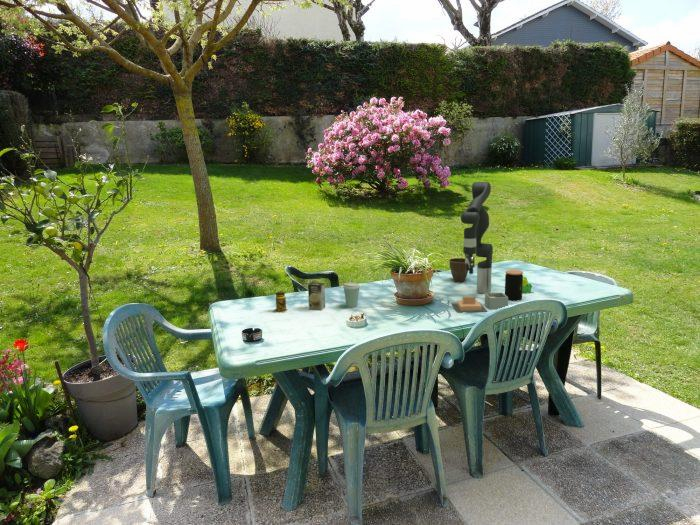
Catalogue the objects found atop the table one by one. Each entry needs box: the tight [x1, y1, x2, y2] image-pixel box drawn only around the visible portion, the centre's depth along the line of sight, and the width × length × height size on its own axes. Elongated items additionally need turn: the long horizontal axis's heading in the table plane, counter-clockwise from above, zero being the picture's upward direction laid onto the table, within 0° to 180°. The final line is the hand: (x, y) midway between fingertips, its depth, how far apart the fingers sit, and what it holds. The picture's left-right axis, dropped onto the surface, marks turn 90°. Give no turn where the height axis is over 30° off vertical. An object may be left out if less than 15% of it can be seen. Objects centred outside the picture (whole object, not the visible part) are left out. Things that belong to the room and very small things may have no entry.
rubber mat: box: [450, 301, 488, 314], centre depth 305 cm, size 18×18×1 cm
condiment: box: [271, 290, 289, 313], centre depth 311 cm, size 7×8×12 cm
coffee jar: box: [504, 269, 524, 302], centre depth 318 cm, size 11×11×18 cm
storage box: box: [484, 292, 509, 310], centre depth 306 cm, size 11×11×7 cm
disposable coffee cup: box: [342, 282, 361, 309], centre depth 315 cm, size 11×11×15 cm
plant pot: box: [448, 257, 469, 283], centre depth 365 cm, size 15×15×16 cm
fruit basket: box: [522, 276, 533, 294], centre depth 333 cm, size 11×9×11 cm
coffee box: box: [307, 281, 326, 311], centre depth 313 cm, size 9×6×16 cm
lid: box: [455, 295, 482, 311], centre depth 305 cm, size 13×13×6 cm
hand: (469, 272), depth 301 cm, fingers open, 8 cm apart
